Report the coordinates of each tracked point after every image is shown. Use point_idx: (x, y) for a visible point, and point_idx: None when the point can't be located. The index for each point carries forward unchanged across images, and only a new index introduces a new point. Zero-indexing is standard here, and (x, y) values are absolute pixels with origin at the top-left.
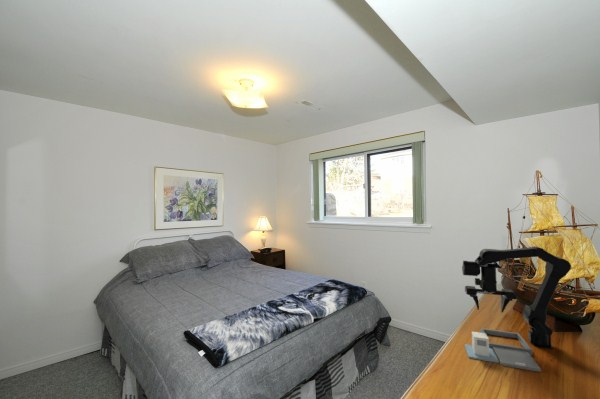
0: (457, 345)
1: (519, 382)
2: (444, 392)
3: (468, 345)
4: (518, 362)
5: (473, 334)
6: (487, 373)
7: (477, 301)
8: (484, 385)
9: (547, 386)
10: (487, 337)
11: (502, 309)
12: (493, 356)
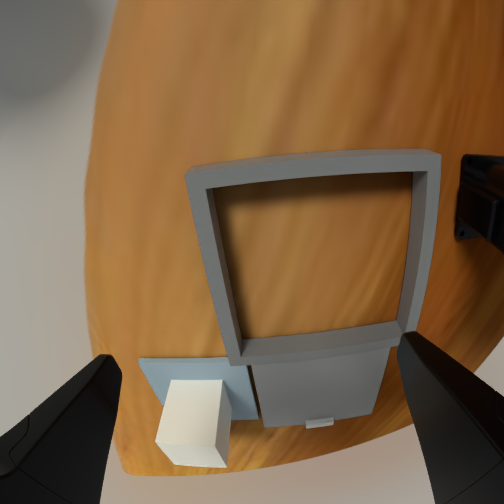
0: (118, 358)
1: (292, 448)
2: (161, 475)
3: (154, 367)
4: (319, 412)
5: (168, 455)
6: None
7: (92, 497)
8: None
9: (350, 438)
10: (222, 462)
11: (411, 403)
12: (245, 404)
